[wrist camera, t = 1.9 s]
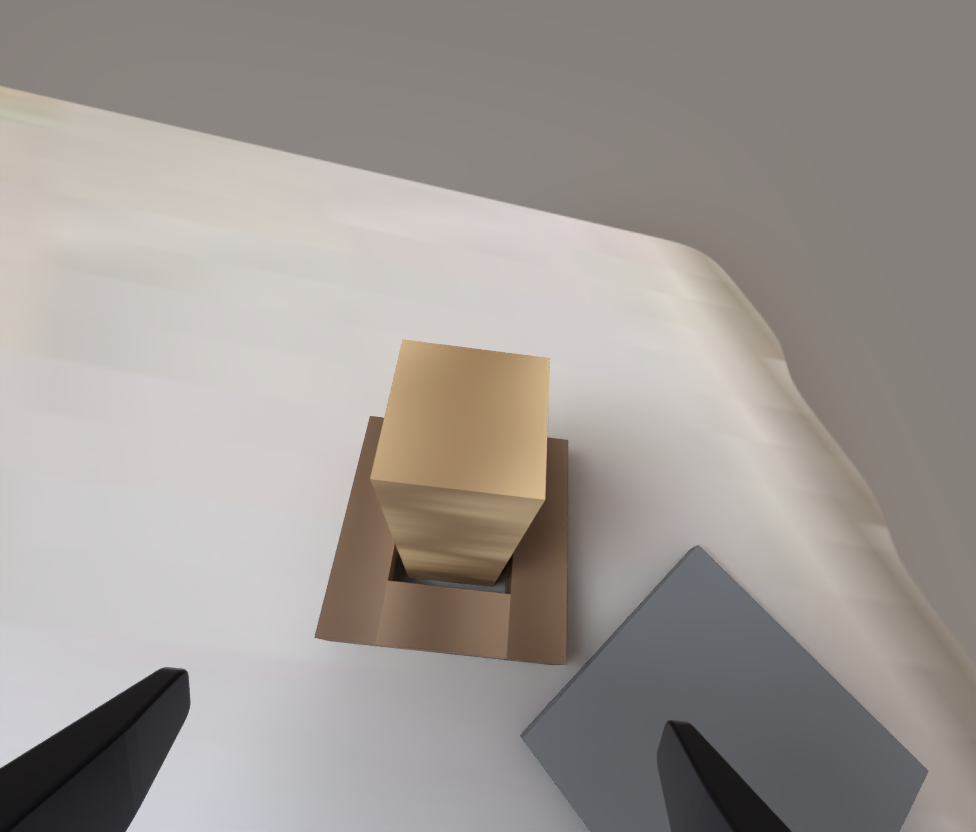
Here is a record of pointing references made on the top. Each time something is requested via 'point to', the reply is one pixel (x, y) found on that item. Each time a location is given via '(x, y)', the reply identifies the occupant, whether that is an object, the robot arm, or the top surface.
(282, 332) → the top surface
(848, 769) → the slate mat
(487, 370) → the oak peg
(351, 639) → the walnut socket block
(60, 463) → the top surface
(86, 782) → the robot arm
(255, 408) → the top surface
